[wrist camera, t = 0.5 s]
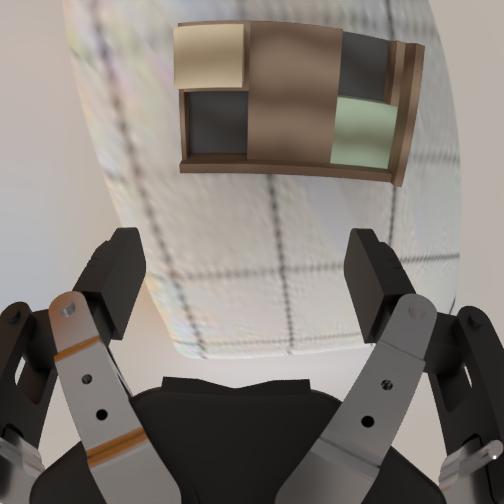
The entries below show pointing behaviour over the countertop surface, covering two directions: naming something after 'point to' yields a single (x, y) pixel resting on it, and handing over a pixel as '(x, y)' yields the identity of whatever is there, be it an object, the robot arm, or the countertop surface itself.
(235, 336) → the countertop surface
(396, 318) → the robot arm
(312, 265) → the countertop surface
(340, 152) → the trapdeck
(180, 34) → the block
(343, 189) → the countertop surface
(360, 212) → the countertop surface
